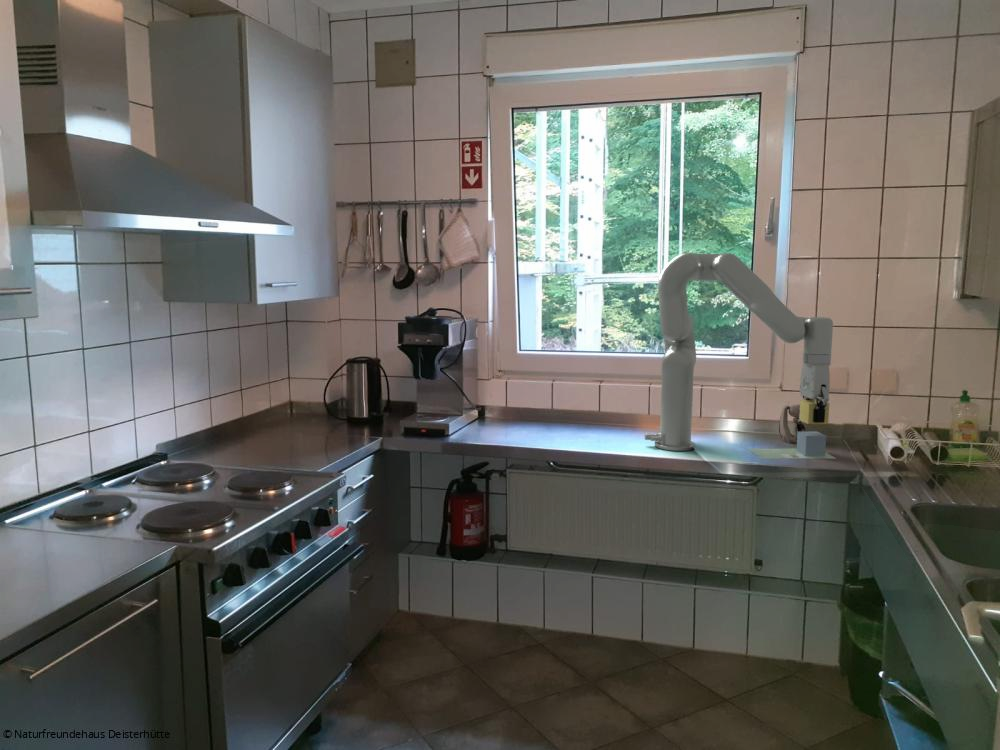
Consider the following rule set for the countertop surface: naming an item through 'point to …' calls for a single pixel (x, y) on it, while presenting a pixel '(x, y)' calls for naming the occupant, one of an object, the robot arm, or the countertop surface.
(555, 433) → the countertop surface
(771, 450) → the board
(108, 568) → the countertop surface
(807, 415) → the brick
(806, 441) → the base brick
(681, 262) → the robot arm
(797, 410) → the toy
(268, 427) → the countertop surface
